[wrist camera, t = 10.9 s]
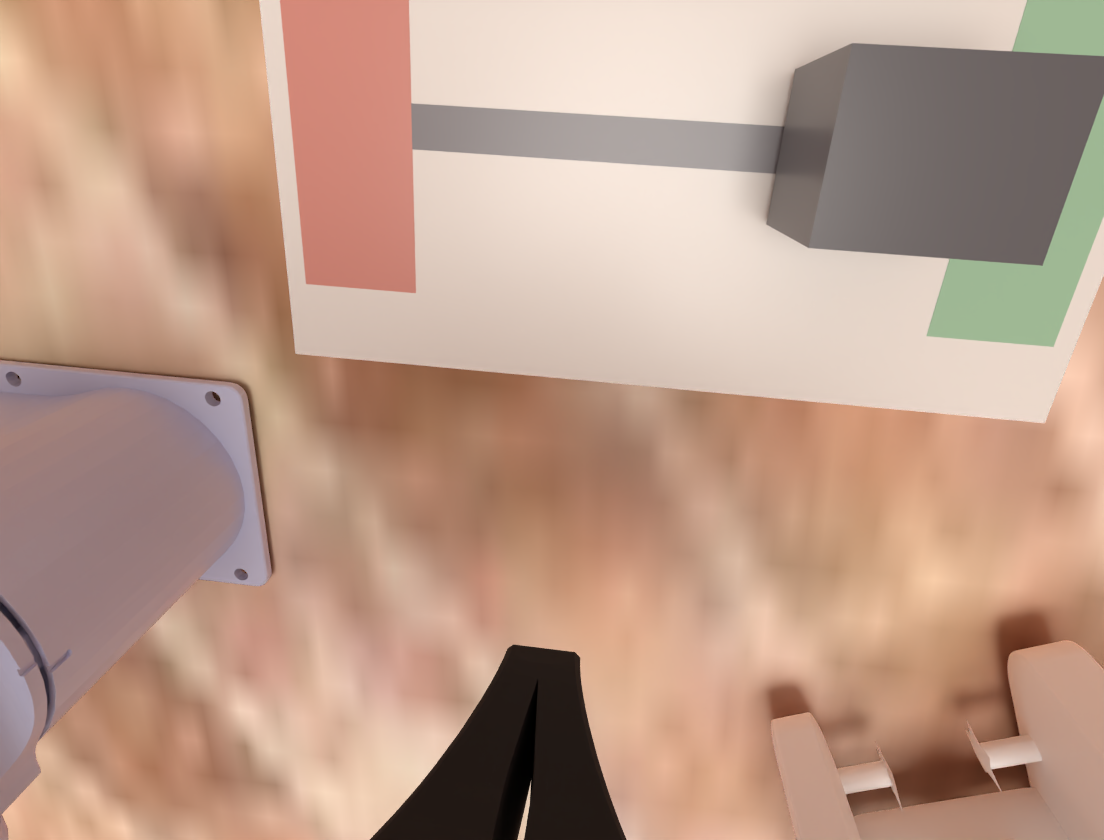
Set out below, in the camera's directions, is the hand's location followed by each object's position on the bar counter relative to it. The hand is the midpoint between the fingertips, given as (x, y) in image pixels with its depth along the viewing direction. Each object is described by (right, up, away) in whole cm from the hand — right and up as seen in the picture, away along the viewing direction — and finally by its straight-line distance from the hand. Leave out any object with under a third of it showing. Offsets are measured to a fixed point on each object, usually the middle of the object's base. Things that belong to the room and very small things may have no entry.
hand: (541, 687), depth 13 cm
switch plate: (+4, +13, +5) cm, 14 cm away
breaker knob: (+7, +11, +2) cm, 13 cm away
